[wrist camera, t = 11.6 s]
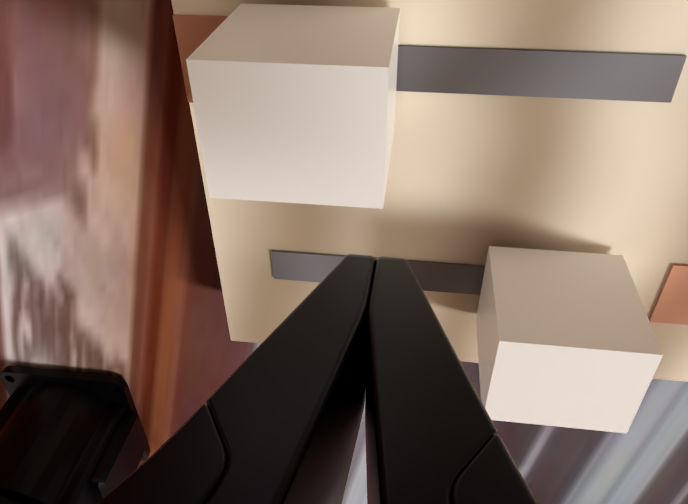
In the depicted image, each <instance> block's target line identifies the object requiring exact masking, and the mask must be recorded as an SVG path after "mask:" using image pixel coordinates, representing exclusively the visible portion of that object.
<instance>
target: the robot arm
mask: <svg viewBox="0 0 688 504" xmlns="http://www.w3.org/2000/svg"><path fill="white" fill-rule="evenodd" d="M0 377H1V380H2V381H3V383H4V385H5V387H6V389H7V391H8V393H9V394H10V397H9V399H8V400H7V402H6V403H5V404H4V406H3V407H2V408H1V410H0V504H341V503H342V498H343V494H344V490H345V486H346V482H347V477H348V473H349V469H350V465H351V461H352V456H353V452H354V448H355V444H356V440H357V435H358V431H359V427H360V423H361V418H362V413H363V409H364V403H365V395H366V404H365V427H366V464H367V501H368V504H538V503H537V501H536V500H535V498H534V496H533V494H532V493H531V491H530V489H529V488H528V486H527V484H526V482H525V481H524V479H523V477H522V475H521V474H520V472H519V470H518V468H517V467H516V465H515V463H514V461H513V459H512V457H511V456H510V454H509V452H508V450H507V448H506V446H505V444H504V442H503V440H502V439H501V437H500V436H499V435H497V430H496V428H495V426H494V424H493V422H492V420H491V418H490V417H489V415H488V413H487V411H486V409H485V407H484V405H483V403H482V401H481V400H480V398H479V396H478V394H477V392H476V390H475V388H474V386H473V384H472V383H471V381H470V379H469V377H468V375H467V373H466V371H465V369H464V367H463V365H462V364H461V362H460V360H459V358H458V356H457V354H456V352H455V350H454V348H453V347H452V345H451V343H450V341H449V339H448V337H447V335H446V333H445V331H444V330H443V328H442V326H441V324H440V322H439V320H438V318H437V316H436V314H435V313H434V311H433V309H432V307H431V305H430V303H429V301H428V299H427V297H426V296H425V294H424V292H423V290H422V288H421V286H420V284H419V282H418V280H417V279H416V277H415V275H414V273H413V271H412V269H411V267H410V265H409V263H408V262H407V260H406V259H404V258H398V257H384V256H381V257H379V258H378V259H377V260H376V259H375V257H374V256H371V255H357V254H349V255H347V256H345V257H344V258H343V259H342V260H341V261H340V262H339V263H338V264H337V266H336V267H335V268H334V269H333V270H332V271H331V272H330V273H329V274H328V275H327V276H326V277H325V278H324V279H323V280H322V281H321V282H320V283H319V284H318V285H317V286H316V287H315V288H314V289H313V291H312V292H311V293H310V294H309V295H308V296H307V297H306V298H305V299H304V300H303V301H302V302H301V303H300V304H299V305H298V306H297V307H296V308H295V309H294V310H293V311H292V312H291V313H290V314H289V315H288V317H287V318H286V319H285V320H284V321H283V322H282V323H281V324H280V325H279V326H278V327H277V328H276V329H275V330H274V331H273V332H272V333H271V334H270V335H269V336H268V337H267V338H266V339H265V340H264V342H263V343H262V344H261V345H260V346H259V347H258V348H257V349H256V350H255V351H254V352H253V353H252V354H251V355H250V356H249V357H248V358H247V359H246V360H245V361H244V362H243V363H242V364H241V365H240V367H239V368H238V369H237V370H236V371H235V372H234V373H233V374H232V375H231V376H230V377H229V378H228V379H227V380H226V381H225V382H224V383H223V384H222V385H221V386H220V387H219V388H218V389H217V390H216V391H215V393H214V394H213V395H212V396H211V397H210V398H209V399H208V400H207V405H206V404H203V405H202V406H201V407H200V408H199V409H198V410H197V411H196V412H195V413H194V414H193V415H192V416H191V417H190V418H189V419H188V420H187V421H186V422H185V423H184V424H183V425H182V426H181V427H180V428H179V429H178V430H177V431H176V432H175V433H174V434H173V435H172V436H171V437H170V438H169V439H168V440H167V441H166V442H165V443H164V444H163V445H162V446H161V447H160V448H159V449H158V450H157V451H156V452H155V453H154V454H153V455H152V456H151V457H150V458H148V456H149V453H150V448H149V445H148V441H147V438H146V435H145V432H144V429H143V426H142V424H141V421H140V418H139V415H138V413H137V410H136V408H135V405H134V402H133V399H132V396H131V393H130V390H129V388H128V385H127V383H126V381H125V380H123V379H122V378H120V377H116V376H106V375H96V374H86V373H76V372H66V371H56V370H45V369H35V368H25V367H15V366H7V367H5V369H4V370H3V371H2V373H1V374H0ZM147 458H148V459H147ZM146 459H147V460H146ZM140 460H146V461H145V462H144V463H143V464H142V465H141V466H139V467H138V465H139V463H140ZM137 467H138V468H137Z"/></svg>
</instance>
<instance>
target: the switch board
mask: <svg viewBox="0 0 688 504" xmlns="http://www.w3.org/2000/svg"><path fill="white" fill-rule="evenodd" d="M171 1H172V7H173V13H174V15H172V16H173V21H174V27H175V33H176V38H177V44H178V50H179V55H180V61H181V67H182V72H183V78H184V84H185V89H186V95H187V101H188V102H189V104H190V110H191V115H192V121H193V127H194V132H195V138H196V144H197V149H198V155H199V161H200V167H201V172H202V178H203V184H204V189H205V195H206V201H207V206H208V212H209V218H210V223H211V229H212V235H213V241H214V246H215V252H216V258H217V263H218V269H219V275H220V280H221V286H222V292H223V298H224V303H225V309H226V315H227V320H228V326H229V332H230V337H231V341H242V342H253V343H263V342H264V340H265V339H266V338H267V337H268V336H269V335H270V334H271V333H272V332H273V331H274V330H275V329H276V328H277V327H278V326H279V325H280V324H281V323H282V322H283V321H284V320H285V319H286V318H287V317H288V315H289V314H290V313H291V312H292V311H293V310H294V309H295V308H296V307H297V306H298V305H299V304H300V303H301V302H302V301H303V300H304V299H305V298H306V297H307V296H308V295H309V294H310V293H311V292H312V291H313V289H314V288H315V287H316V286H317V285H318V284H319V283H320V282H321V281H322V280H323V279H324V278H325V277H326V276H327V275H328V274H329V273H330V272H331V271H332V270H333V269H334V268H335V267H336V266H337V264H338V263H339V262H340V261H341V260H342V259H343V258H344V257H345V256H347V255H349V254H357V255H371V256H374V257H375V259H376V260H377V259H378V258H379V257H381V256H384V257H398V258H404V259H406V260H407V262H408V263H409V265H410V267H411V269H412V271H413V273H414V275H415V277H416V279H417V280H418V282H419V284H420V286H421V288H422V290H423V292H424V294H425V296H426V297H427V299H428V301H429V303H430V305H431V307H432V309H433V311H434V313H435V314H436V316H437V318H438V320H439V322H440V324H441V326H442V328H443V330H444V331H445V333H446V335H447V337H448V339H449V341H450V343H451V345H452V347H453V348H454V350H455V352H456V354H457V356H458V358H459V360H460V361H465V362H476V363H479V360H478V346H477V332H476V316H477V310H478V305H479V299H480V293H481V288H482V282H483V276H484V271H485V265H486V259H487V254H488V248H489V246H496V247H510V248H525V249H539V250H554V251H568V252H583V253H597V254H612V255H623V257H624V259H625V262H626V264H627V267H628V269H629V272H630V274H631V277H632V279H633V282H634V284H635V287H636V289H637V292H638V294H639V296H640V299H641V301H642V304H643V306H644V309H645V311H646V314H647V316H648V319H649V321H650V324H651V326H652V329H653V331H654V334H655V336H656V339H657V341H658V343H659V346H660V348H661V351H662V353H663V356H662V359H661V361H660V363H659V365H658V367H657V369H656V372H655V374H654V376H653V378H654V379H665V380H677V381H688V0H171ZM240 4H278V5H314V6H351V7H387V8H400V21H399V42H398V63H397V84H396V105H395V125H394V135H393V142H392V149H391V156H390V164H389V171H388V178H387V185H386V193H385V200H384V207H383V209H378V208H362V207H347V206H331V205H315V204H299V203H284V202H268V201H252V200H236V199H221V198H210V197H209V192H208V186H207V180H206V174H205V168H204V162H203V157H202V151H201V145H200V139H199V133H198V127H197V121H196V116H195V110H194V104H193V98H192V92H191V86H190V81H189V75H188V69H187V63H186V59H187V58H188V57H189V56H190V55H191V54H192V53H193V52H194V51H195V50H196V49H197V48H198V47H199V46H200V45H201V44H202V43H203V42H204V41H205V40H206V39H207V38H208V37H209V36H210V35H211V34H212V33H213V32H214V31H215V30H216V28H217V27H218V26H219V25H220V24H221V23H222V22H223V21H224V20H225V19H226V18H227V17H228V16H229V15H230V14H231V13H232V12H233V11H234V10H235V9H236V8H237V7H238V6H239V5H240Z"/></svg>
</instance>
